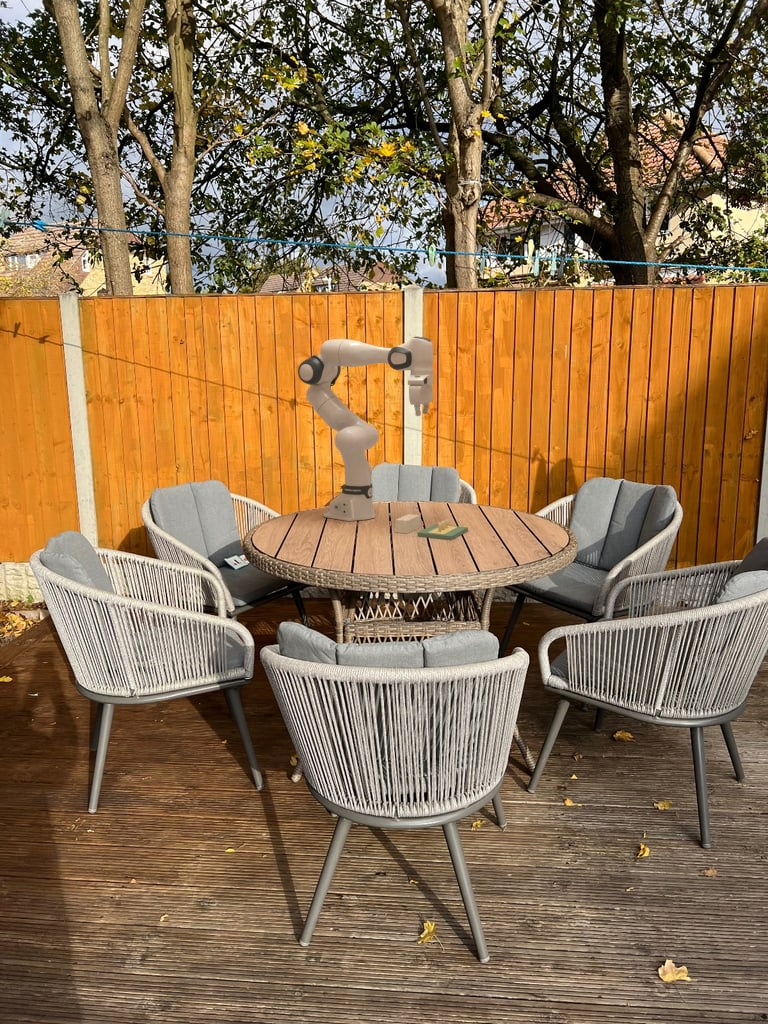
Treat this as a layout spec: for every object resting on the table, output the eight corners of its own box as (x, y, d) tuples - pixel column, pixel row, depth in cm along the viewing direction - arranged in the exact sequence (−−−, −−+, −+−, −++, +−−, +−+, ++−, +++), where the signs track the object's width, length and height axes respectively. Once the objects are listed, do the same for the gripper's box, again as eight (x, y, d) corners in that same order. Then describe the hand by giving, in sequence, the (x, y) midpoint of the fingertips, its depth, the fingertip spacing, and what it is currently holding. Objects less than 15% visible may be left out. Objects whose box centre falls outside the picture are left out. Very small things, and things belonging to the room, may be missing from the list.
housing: (395, 532, 295) (395, 519, 294) (408, 526, 305) (408, 514, 304) (407, 533, 293) (407, 520, 292) (420, 527, 302) (420, 515, 301)
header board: (417, 536, 288) (417, 523, 287) (435, 527, 302) (435, 515, 301) (451, 540, 282) (451, 527, 281) (467, 531, 295) (468, 518, 294)
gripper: (421, 378, 307) (421, 412, 310) (406, 380, 288) (406, 416, 291) (437, 378, 305) (436, 413, 308) (422, 380, 286) (421, 417, 289)
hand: (421, 414), depth 299 cm, fingers open, 8 cm apart
